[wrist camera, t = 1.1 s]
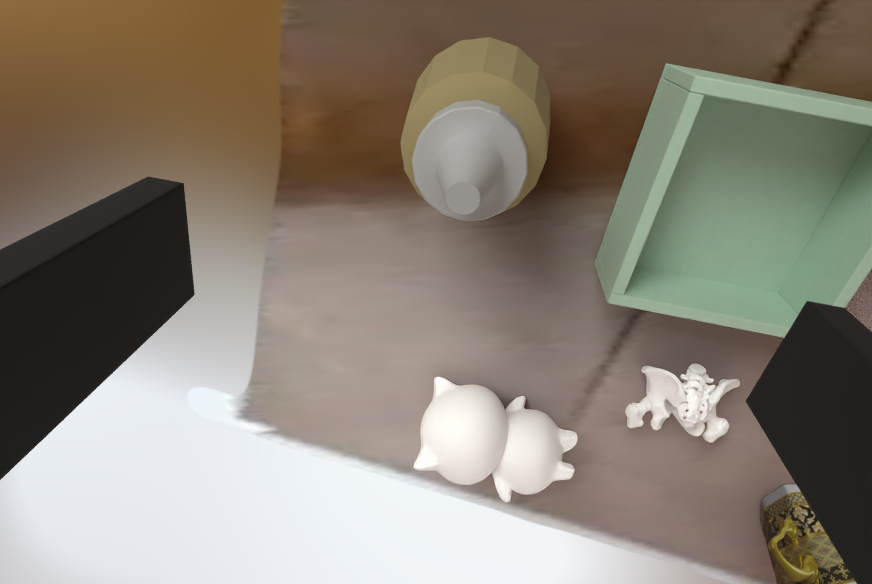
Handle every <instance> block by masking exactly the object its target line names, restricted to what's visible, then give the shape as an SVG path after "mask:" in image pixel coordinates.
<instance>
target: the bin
mask: <svg viewBox="0 0 872 584" xmlns="http://www.w3.org/2000/svg"><path fill="white" fill-rule="evenodd" d="M594 265H595V268H596V271H597V274H598V277H599V280H600V283H601V286H602V289H603V292H604V295H605V297H606V300H607V303H610V304H615V305H620V306H625V307H630V308H635V309H640V310H646V311H651V312H656V313H661V314H666V315H671V316H676V317H681V318H686V319H691V320H696V321H701V322H707V323H712V324H717V325H722V326H727V327H732V328H737V329H742V330H747V331H752V332H757V333H763V334H768V335H773V336H778V337H783V338H785V336H786V334H787V333H788V331H789V329H790V328H791V326H792V324H793V323H794V321H795V319H796V318H797V316H798V315H799V313H800V311H801V310H802V308H803V306H804V305H805V303H806V301H811V302H816V303H821V304H827V305H832V306H837V307H843V308H845V307H846V306H847V304H848V303H849V301H850V300H851V299H852V297H853V296H854V294H855V293H856V291H857V290H858V288H859V287H860V285H861V284H862V282H863V281H864V279H865V278H866V276H867V275H868V273H869V272H870V270H871V269H872V102H870V101H864V100H859V99H854V98H848V97H843V96H838V95H832V94H827V93H822V92H816V91H811V90H806V89H801V88H795V87H790V86H785V85H779V84H774V83H769V82H763V81H758V80H753V79H747V78H742V77H737V76H731V75H726V74H721V73H715V72H710V71H705V70H699V69H694V68H689V67H683V66H678V65H673V64H665V67H664V70H663V73H662V75H661V78H660V81H659V84H658V87H657V89H656V92H655V95H654V98H653V101H652V103H651V106H650V109H649V112H648V115H647V117H646V120H645V123H644V126H643V129H642V131H641V134H640V137H639V140H638V142H637V145H636V148H635V151H634V154H633V156H632V159H631V162H630V165H629V168H628V170H627V173H626V176H625V179H624V182H623V184H622V187H621V190H620V193H619V196H618V198H617V201H616V204H615V207H614V209H613V212H612V215H611V218H610V221H609V223H608V226H607V229H606V232H605V235H604V237H603V240H602V243H601V246H600V249H599V251H598V254H597V257H596V260H595V263H594Z"/></svg>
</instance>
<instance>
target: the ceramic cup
mask: <svg viewBox="0 0 872 584" xmlns="http://www.w3.org/2000/svg"><path fill="white" fill-rule="evenodd" d="M760 521H761V525H762V529H763V533H764V536H765V540H766V543H767V547H768V551H769V554H770V558H771V562H772V565H773V569H774V572H775V576H776V582H777V584H857V583H856V582H855V580H854V578H853V577H852V575H851V573H850V572H849V570H848V568H847V567H846V565H845V563H844V562H843V560H842V559H841V557H840V555H839V554H838V552H837V550H836V549H835V547H834V545H833V544H832V542H831V540H830V539H829V537H828V536H827V534H826V532H825V531H824V529H823V527H822V526H821V524H820V522H819V521H818V519H817V517H816V516H815V514H814V513H813V511H812V509H811V508H810V506H809V504H808V503H807V501H806V499H805V498H804V496H803V494H802V493H801V491H800V490H799V488H798V486H797V485H796V484H788V485H783V486H781V487H779V488H778V489H776V490H775V491H773V492H772V493H770V494H768V495H767V496H765V497H764V498H762V503H761V516H760Z"/></svg>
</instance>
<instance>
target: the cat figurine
mask: <svg viewBox="0 0 872 584" xmlns="http://www.w3.org/2000/svg"><path fill="white" fill-rule="evenodd" d="M525 401H526V398H525V397H524V396H520V397H516V398H515V399H514V400H513V401H512V402H511V403H510V404H509V405H508V406H507V408H506V409H504V406H503V404H502V402H501V401H500V399H499V398H498V397H497V395H496V394H495V393H494V392H492V391H491V390H489V389H488V388H486V387H483V386H480V385H472V384H471V385H461V386H459V385H455V384H453V383H451V382H450V381H448V380H447V379H444V378H441V377H436V378H435V379H434V394H433V400H432V402H431V404H430V405H429V406H428V408H427V409H426V411H425V413H424V416H423V418H422V422H421V429H420V435H421V450H420V453H419V455H418V457H417V459H416V461H415V463H414V466H413V468H414V469H416V470H420V471H429V470H435V471H437V472H438V473H439V474H441V475H442V476H443V477H444V478H446V479H447V480H449V481H451V482H453V483H456V484H461V485H470V484H475V483H477V482H480V481H481V480H483V479H485V478H486V477H487V476H488V475H490V474H491V473H492V475H493V478H494V482H495V486H496V489H497V491H498V494H499V496H500V498H501V499H502V500H503V501H504V502H505V503H506V502H510V499H511V490H513V491H515V492H517V493H520V494H525V495H529V494H535V493H538V492H540V491H542V490H543V489H545V488H546V487H547V486H549V485H550V484H551V482H553V481H556V480H567V479H571V477H572V476H573V474H574V471H575V470H574V467H573V466H572V465H571V464H568V463H564V462H562V454H563V453H564V452H566V451H568V450H570V449H572V448H573V447H574V446H575V445H576V443H577V440H578V438H577V434H576V433H575V432H573V431H568V430H563V429H560V428H559V427H558V426H557V425H556V424H555V423H554V421H553V420H552V419H551V418H550V417H549V416H548V415H547V414H545V413H544V412H541V411H539V410H532V409H525V408H524V406H525Z"/></svg>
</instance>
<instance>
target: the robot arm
mask: <svg viewBox="0 0 872 584" xmlns="http://www.w3.org/2000/svg"><path fill="white" fill-rule="evenodd" d="M193 296H194V285H193V275H192V264H191V254H190V245H189V234H188V224H187V214H186V203H185V194H184V184H183V183H179V182H174V181H169V180H163V179H158V178H152V177H146V178H145V179H142V180H140V181H138V182H136V183H134V184H132V185H130V186H128V187H126V188H124V189H122V190H120V191H118V192H116V193H114V194H112V195H110V196H108V197H106V198H104V199H102V200H100V201H98V202H96V203H94V204H92V205H90V206H88V207H86V208H84V209H82V210H80V211H78V212H76V213H74V214H72V215H69V216H68V217H65V218H64V219H61V220H59V221H57V222H55V223H54V224H51V225H49V226H47V227H45V228H43V229H41V230H39V231H37V232H35V233H33V234H31V235H29V236H27V237H25V238H23V239H21V240H19V241H17V242H15V243H13V244H11V245H9V246H7V247H5V248H3V249H1V250H0V480H1V478H3V477H4V476H5V475H6V474H7V473H8V472H9V471H10V470H11V469H12V468H13V467H14V466H15V465H16V464H17V463H18V462H19V461H20V460H21V459H22V458H24V457H25V456H26V455H27V454H28V453H29V452H30V451H31V450H32V449H33V448H34V447H35V446H36V445H37V444H38V443H39V442H40V441H42V440H43V439H44V438H45V437H46V436H47V435H48V434H49V433H50V432H51V431H52V430H53V429H54V428H55V427H56V426H57V425H58V424H59V423H60V422H61V421H63V420H64V418H66V417H67V416H68V415H69V414H70V413H71V412H72V411H73V410H74V409H75V408H76V407H77V406H78V405H79V404H80V403H81V402H82V401H83V400H84V399H86V398H87V397H88V396H89V395H90V394H91V393H92V392H93V391H94V390H95V389H96V388H97V387H98V386H99V385H100V384H101V383H102V382H103V381H104V380H106V379H107V378H108V377H109V376H110V375H111V374H112V373H113V372H114V371H115V370H116V369H117V368H118V367H119V366H120V365H121V364H122V363H123V362H124V361H126V360H127V359H128V358H129V357H130V356H131V355H132V354H133V353H134V352H135V351H136V350H137V349H138V348H139V347H140V346H141V345H142V344H143V343H144V342H145V341H146V340H148V338H150V337H151V336H152V335H153V334H154V333H155V332H156V331H157V330H158V329H159V328H160V327H161V326H162V325H163V324H164V323H165V322H166V321H168V320H169V318H171V317H172V316H173V315H174V314H175V313H176V312H177V311H178V310H179V309H180V308H181V307H182V306H183V305H184V304H185V303H186V302H187V301H188V300H190V299H191V297H193ZM746 403H747V404H748V406H749V407H750V409H751V411H752V412H753V414H754V416H755V417H756V419H757V421H758V422H759V424H760V426H761V427H762V429H763V430H764V432H765V434H766V435H767V437H768V439H769V440H770V442H771V444H772V445H773V447H774V448H775V450H776V452H777V453H778V455H779V457H780V458H781V460H782V462H783V463H784V465H785V467H786V468H787V470H788V471H789V473H790V475H791V476H792V478H793V480H794V481H795V483H796V485H797V486H798V488H799V490H800V491H801V493H802V494H803V496H804V498H805V499H806V501H807V503H808V504H809V506H810V508H811V509H812V511H813V513H814V514H815V516H816V517H817V519H818V521H819V522H820V524H821V526H822V527H823V529H824V531H825V532H826V534H827V536H828V537H829V539H830V540H831V542H832V544H833V545H834V547H835V549H836V550H837V552H838V554H839V555H840V557H841V559H842V560H843V562H844V563H845V565H846V567H847V568H848V570H849V572H850V573H851V575H852V577H853V578H854V580H855V582H856V583H857V584H872V332H871V331H870V330H868V329H867V328H866V327H865V326H864V325H863V324H862V323H861V322H860V321H858V320H857V319H856V318H855V317H854V316H853V315H852V314H851V313H849V312H848V311H847V310H846V309H845V308H843V307H837V306H832V305H827V304H821V303H816V302H811V301H806V303H805V305H804V306H803V308H802V310H801V311H800V313H799V315H798V316H797V318H796V319H795V321H794V323H793V324H792V326H791V328H790V329H789V331H788V333H787V334H786V336H785V338H784V339H783V341H782V342H781V344H780V346H779V347H778V349H777V351H776V352H775V354H774V356H773V357H772V359H771V361H770V362H769V364H768V365H767V367H766V369H765V370H764V372H763V374H762V375H761V377H760V379H759V380H758V382H757V383H756V385H755V387H754V388H753V390H752V392H751V393H750V395H749V397H748V398H747V400H746Z"/></svg>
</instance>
